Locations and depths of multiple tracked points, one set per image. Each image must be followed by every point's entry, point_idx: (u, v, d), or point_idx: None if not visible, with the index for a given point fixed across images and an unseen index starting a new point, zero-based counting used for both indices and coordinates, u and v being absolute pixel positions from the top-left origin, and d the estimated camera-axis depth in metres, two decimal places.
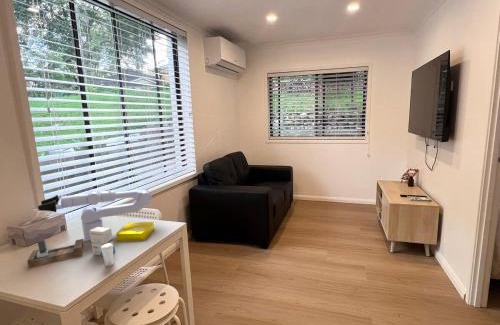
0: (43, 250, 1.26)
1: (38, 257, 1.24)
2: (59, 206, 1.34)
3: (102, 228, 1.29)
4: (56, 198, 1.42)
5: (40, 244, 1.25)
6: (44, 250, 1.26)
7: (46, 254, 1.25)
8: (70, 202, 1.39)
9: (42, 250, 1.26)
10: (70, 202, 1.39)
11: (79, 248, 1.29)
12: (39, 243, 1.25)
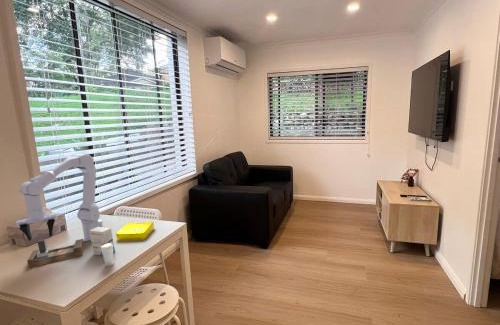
0: (43, 250, 1.26)
1: (38, 257, 1.24)
2: (56, 215, 1.27)
3: (102, 228, 1.29)
4: (26, 227, 1.22)
5: (40, 244, 1.25)
6: (44, 250, 1.26)
7: (46, 254, 1.25)
8: (43, 209, 1.24)
9: (42, 250, 1.26)
10: None
11: (79, 248, 1.29)
12: (39, 243, 1.25)
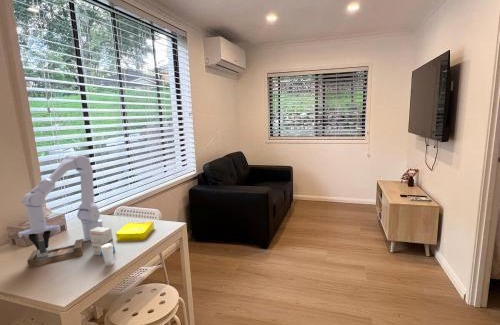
0: (43, 250, 1.26)
1: (38, 257, 1.24)
2: (58, 226, 1.28)
3: (102, 228, 1.29)
4: (35, 236, 1.24)
5: (40, 244, 1.25)
6: (44, 250, 1.26)
7: (46, 254, 1.25)
8: (45, 219, 1.25)
9: (42, 250, 1.26)
10: (45, 219, 1.25)
11: (79, 248, 1.29)
12: (39, 243, 1.25)
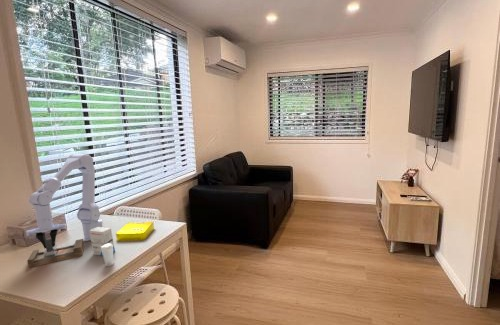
0: (50, 249, 1.27)
1: (45, 255, 1.25)
2: (65, 225, 1.29)
3: (102, 228, 1.29)
4: (42, 235, 1.25)
5: (47, 243, 1.26)
6: (51, 249, 1.27)
7: (53, 252, 1.26)
8: (52, 218, 1.26)
9: (49, 249, 1.27)
10: (52, 218, 1.27)
11: (79, 248, 1.29)
12: (46, 242, 1.26)
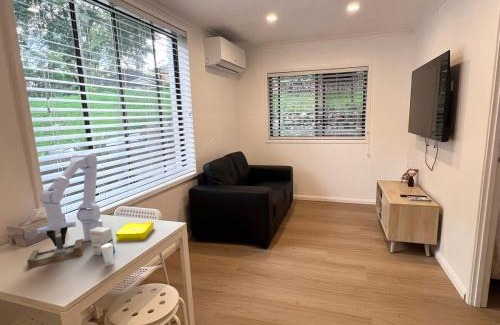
0: (60, 246, 1.28)
1: (56, 253, 1.26)
2: (75, 223, 1.31)
3: (102, 228, 1.29)
4: (53, 233, 1.26)
5: (57, 240, 1.28)
6: (61, 246, 1.29)
7: (63, 250, 1.28)
8: (62, 216, 1.28)
9: (59, 246, 1.28)
10: (62, 216, 1.28)
11: (79, 248, 1.29)
12: (56, 239, 1.27)
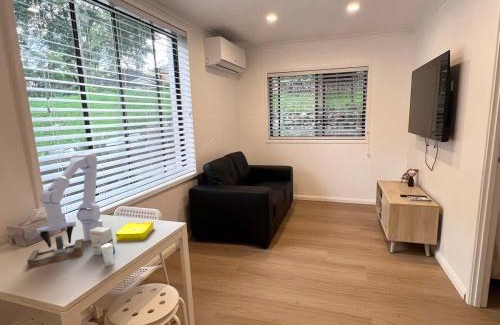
0: (60, 246, 1.28)
1: (56, 253, 1.26)
2: (75, 223, 1.30)
3: (102, 228, 1.29)
4: (47, 234, 1.25)
5: (57, 240, 1.28)
6: (61, 246, 1.29)
7: (63, 250, 1.28)
8: (62, 216, 1.28)
9: (59, 246, 1.28)
10: (62, 216, 1.28)
11: (79, 248, 1.29)
12: (57, 239, 1.27)
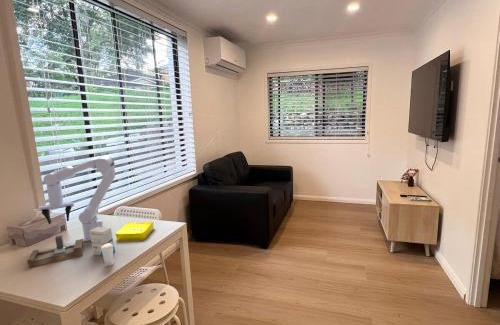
0: (60, 246, 1.28)
1: (56, 253, 1.26)
2: (73, 203, 1.45)
3: (102, 228, 1.29)
4: (47, 212, 1.40)
5: (57, 240, 1.28)
6: (61, 246, 1.29)
7: (63, 250, 1.28)
8: None
9: (59, 246, 1.28)
10: None
11: (79, 248, 1.29)
12: (57, 239, 1.27)
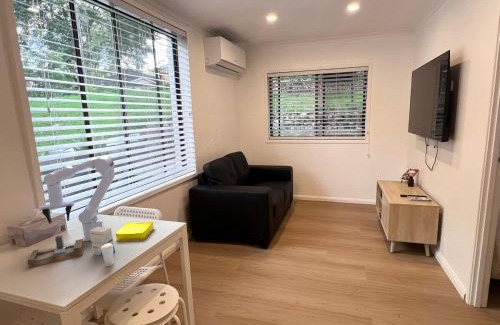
0: (60, 246, 1.28)
1: (56, 253, 1.26)
2: (73, 203, 1.46)
3: (102, 228, 1.29)
4: (48, 211, 1.41)
5: (57, 240, 1.28)
6: (61, 246, 1.29)
7: (63, 250, 1.28)
8: (62, 196, 1.43)
9: (59, 246, 1.28)
10: (62, 196, 1.44)
11: (79, 248, 1.29)
12: (57, 239, 1.27)
